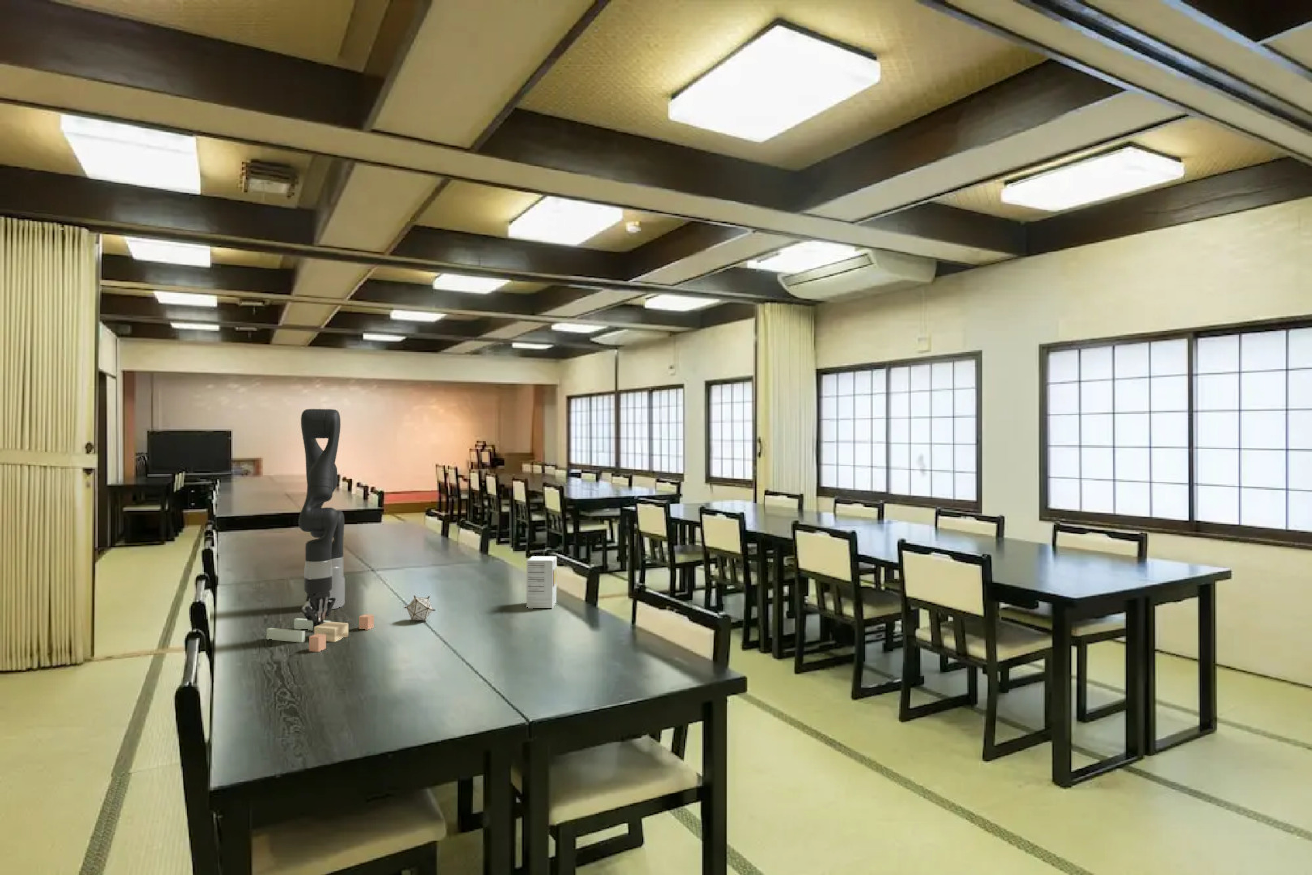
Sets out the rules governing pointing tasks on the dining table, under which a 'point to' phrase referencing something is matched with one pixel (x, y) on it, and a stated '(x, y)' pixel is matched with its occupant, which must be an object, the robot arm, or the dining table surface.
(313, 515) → the robot arm
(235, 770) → the dining table surface
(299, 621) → the white blocks
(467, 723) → the dining table surface
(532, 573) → the supplement box
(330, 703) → the dining table surface
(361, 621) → the gate posts
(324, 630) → the maple block
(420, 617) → the game die
